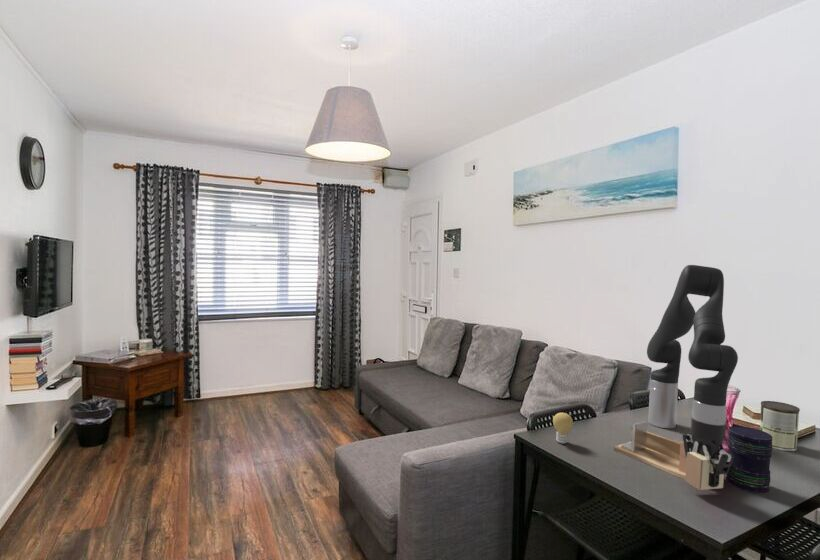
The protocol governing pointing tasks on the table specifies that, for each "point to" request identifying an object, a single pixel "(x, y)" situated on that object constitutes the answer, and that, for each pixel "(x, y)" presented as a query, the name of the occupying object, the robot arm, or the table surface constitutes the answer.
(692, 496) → the table surface
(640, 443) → the bookend
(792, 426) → the coffee can
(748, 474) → the storage jar
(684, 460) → the rack
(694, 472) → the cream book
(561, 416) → the light bulb
